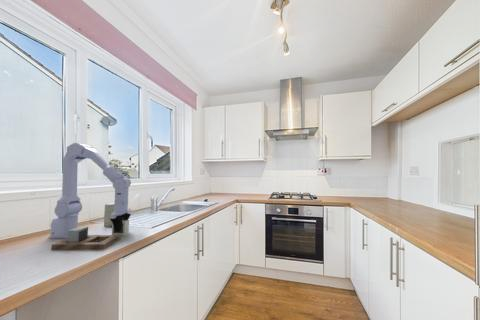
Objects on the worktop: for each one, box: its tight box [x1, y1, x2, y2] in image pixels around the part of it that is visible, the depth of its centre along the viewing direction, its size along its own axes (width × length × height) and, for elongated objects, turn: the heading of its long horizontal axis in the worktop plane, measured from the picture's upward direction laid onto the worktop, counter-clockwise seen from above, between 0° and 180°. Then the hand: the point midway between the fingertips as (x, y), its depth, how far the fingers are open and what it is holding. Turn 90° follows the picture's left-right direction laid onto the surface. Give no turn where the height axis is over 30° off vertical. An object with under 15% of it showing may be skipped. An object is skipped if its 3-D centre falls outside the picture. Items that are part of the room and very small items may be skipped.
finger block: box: [111, 219, 130, 237], centre depth 99 cm, size 4×6×6 cm, turn 92°
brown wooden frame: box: [51, 234, 122, 251], centre depth 86 cm, size 20×12×2 cm, turn 92°
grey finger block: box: [68, 226, 89, 243], centre depth 86 cm, size 4×6×6 cm, turn 2°
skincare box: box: [103, 202, 115, 228], centre depth 116 cm, size 6×4×12 cm
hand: (120, 230), depth 99 cm, fingers closed on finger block, 4 cm apart
